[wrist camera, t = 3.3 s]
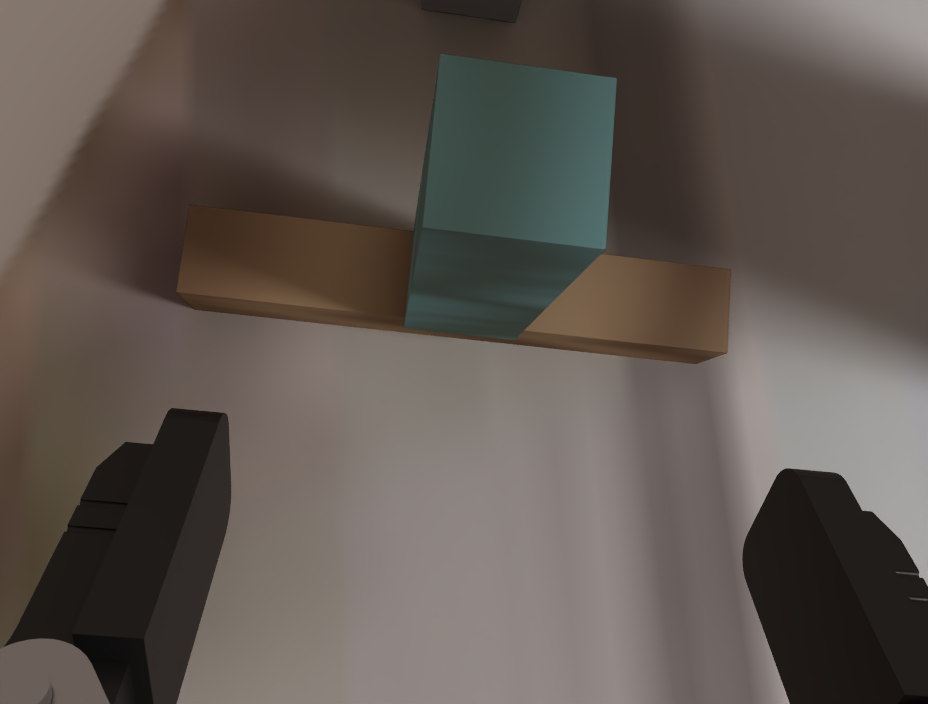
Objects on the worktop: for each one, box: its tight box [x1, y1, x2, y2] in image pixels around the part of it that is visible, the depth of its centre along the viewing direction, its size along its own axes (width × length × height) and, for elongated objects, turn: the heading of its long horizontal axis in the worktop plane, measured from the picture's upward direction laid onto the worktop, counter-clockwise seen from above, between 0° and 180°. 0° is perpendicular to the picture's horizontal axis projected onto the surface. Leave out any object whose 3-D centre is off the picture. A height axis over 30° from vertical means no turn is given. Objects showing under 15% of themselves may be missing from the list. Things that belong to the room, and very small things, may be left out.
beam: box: [176, 54, 731, 364], centre depth 19 cm, size 15×3×11 cm, turn 85°
